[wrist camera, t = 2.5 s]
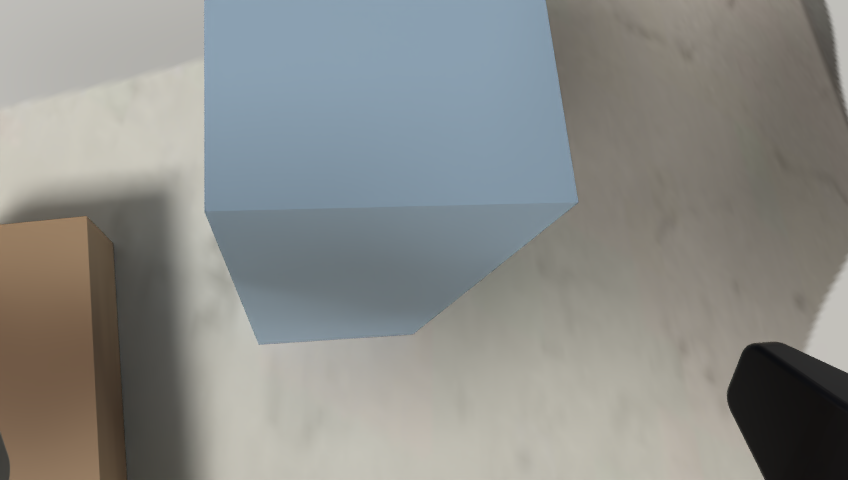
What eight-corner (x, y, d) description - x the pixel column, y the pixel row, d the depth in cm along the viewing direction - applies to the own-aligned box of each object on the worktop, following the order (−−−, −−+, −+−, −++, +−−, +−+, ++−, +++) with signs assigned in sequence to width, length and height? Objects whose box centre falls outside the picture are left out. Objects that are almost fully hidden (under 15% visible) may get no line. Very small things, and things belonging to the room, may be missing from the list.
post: (412, 334, 19) (577, 201, 8) (258, 344, 19) (204, 211, 7) (400, 193, 21) (530, -92, 9) (255, 196, 20) (204, -117, 8)
